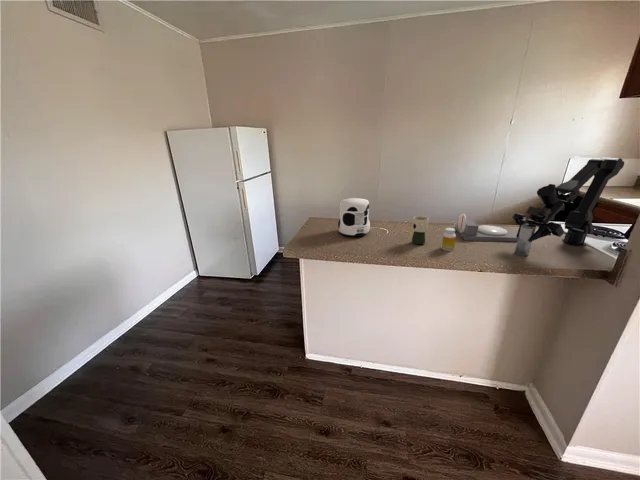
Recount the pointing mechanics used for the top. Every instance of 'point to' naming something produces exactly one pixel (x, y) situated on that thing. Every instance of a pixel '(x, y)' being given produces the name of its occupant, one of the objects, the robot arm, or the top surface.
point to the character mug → (419, 229)
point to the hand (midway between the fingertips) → (522, 239)
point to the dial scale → (482, 231)
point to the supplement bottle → (448, 239)
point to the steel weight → (524, 239)
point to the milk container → (354, 217)
